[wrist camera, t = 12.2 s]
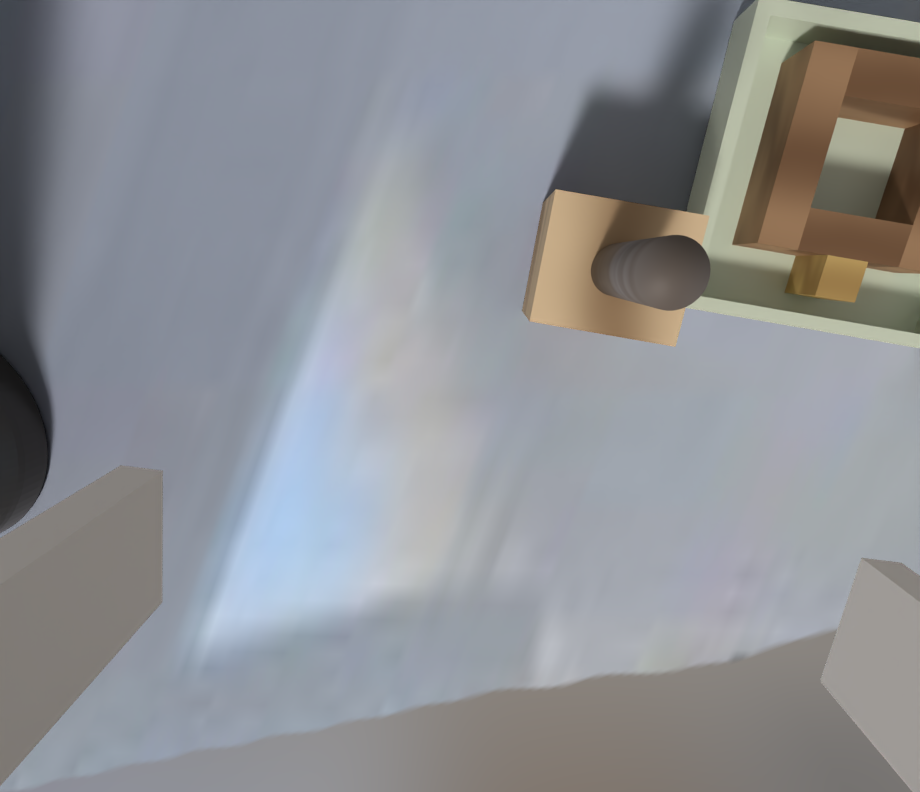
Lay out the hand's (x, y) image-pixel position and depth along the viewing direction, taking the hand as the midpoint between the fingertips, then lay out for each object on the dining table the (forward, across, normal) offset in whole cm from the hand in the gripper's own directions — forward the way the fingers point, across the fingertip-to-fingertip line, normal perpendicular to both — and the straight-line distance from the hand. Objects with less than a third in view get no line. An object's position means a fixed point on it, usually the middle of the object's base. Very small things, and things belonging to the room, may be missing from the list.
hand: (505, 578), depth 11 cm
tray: (+23, +17, +12) cm, 31 cm away
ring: (+22, +17, +13) cm, 31 cm away
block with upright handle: (+23, +6, +6) cm, 25 cm away
